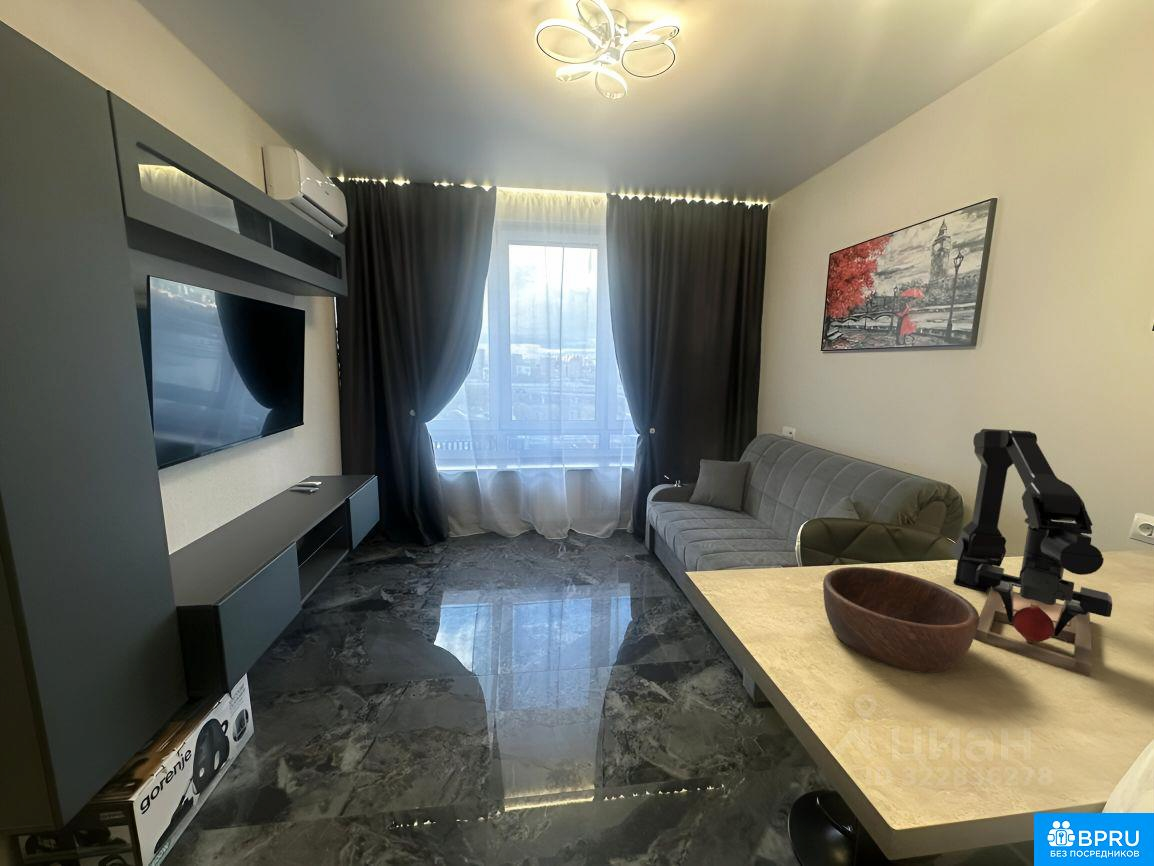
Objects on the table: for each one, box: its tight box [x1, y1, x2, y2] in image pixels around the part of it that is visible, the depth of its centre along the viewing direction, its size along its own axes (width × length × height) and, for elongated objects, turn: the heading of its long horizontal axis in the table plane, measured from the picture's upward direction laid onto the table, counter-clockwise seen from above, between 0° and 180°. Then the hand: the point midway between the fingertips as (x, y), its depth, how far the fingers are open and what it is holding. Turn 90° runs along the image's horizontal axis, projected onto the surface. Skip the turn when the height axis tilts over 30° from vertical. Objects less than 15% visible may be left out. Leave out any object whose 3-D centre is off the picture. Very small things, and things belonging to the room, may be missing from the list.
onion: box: [1012, 603, 1054, 644], centre depth 93 cm, size 6×6×8 cm
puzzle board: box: [973, 587, 1093, 677], centre depth 98 cm, size 16×28×2 cm, turn 133°
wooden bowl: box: [822, 566, 980, 673], centre depth 92 cm, size 25×25×10 cm
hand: (1032, 628), depth 93 cm, fingers open, 6 cm apart
